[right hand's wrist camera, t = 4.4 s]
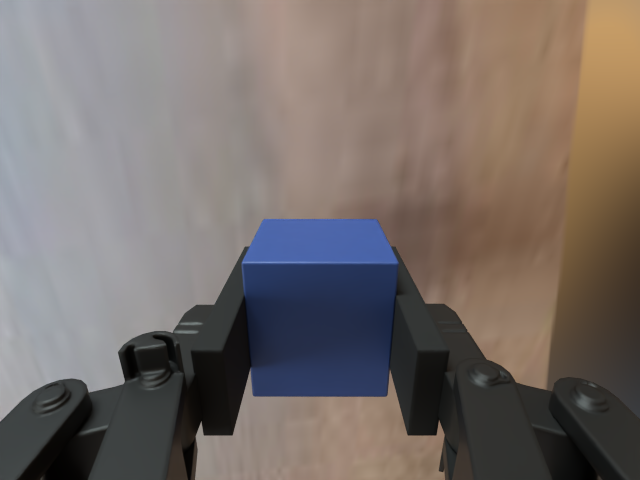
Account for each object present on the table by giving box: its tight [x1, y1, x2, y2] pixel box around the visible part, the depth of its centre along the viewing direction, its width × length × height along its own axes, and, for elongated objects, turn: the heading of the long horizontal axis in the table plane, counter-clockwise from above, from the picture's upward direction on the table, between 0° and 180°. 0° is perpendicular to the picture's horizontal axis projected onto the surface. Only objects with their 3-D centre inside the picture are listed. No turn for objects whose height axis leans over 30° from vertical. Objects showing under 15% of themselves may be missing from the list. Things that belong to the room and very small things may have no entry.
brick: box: [242, 219, 399, 397], centre depth 13 cm, size 5×5×4 cm
